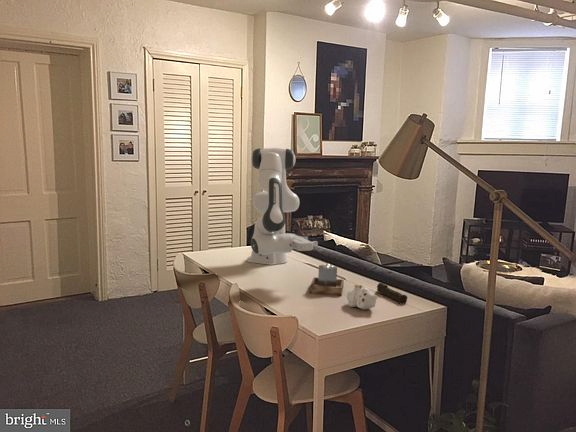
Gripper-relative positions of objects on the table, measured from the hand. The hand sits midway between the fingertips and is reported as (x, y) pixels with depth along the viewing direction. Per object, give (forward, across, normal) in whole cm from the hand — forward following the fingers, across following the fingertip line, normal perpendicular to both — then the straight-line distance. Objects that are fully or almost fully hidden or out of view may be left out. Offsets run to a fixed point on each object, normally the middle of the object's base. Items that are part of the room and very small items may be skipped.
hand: (312, 240), depth 225 cm
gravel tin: (+2, -13, +19) cm, 23 cm away
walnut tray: (+2, -13, +20) cm, 24 cm away
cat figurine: (+2, -39, +20) cm, 44 cm away
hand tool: (+22, -32, +20) cm, 44 cm away
